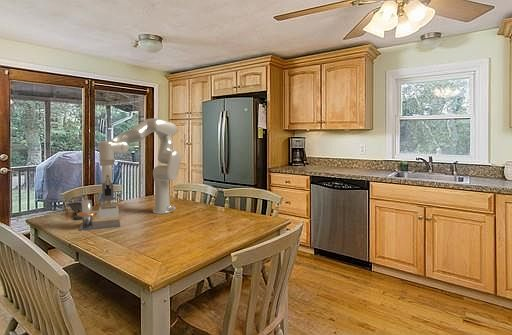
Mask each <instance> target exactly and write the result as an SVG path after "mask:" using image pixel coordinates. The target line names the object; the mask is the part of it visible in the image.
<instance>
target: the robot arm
mask: <svg viewBox="0 0 512 335" xmlns="http://www.w3.org/2000/svg"><path fill="white" fill-rule="evenodd" d="M151 133H156V135H157V136H158V138H159V140H160V141H159V142H160V143H159V144H160V145H159V149H158V154H157V155H158V156H157V160H158V162H159V163H161V164H164V165H161V164H160V165H157V166H155V167H154V168H153V169H152V176H153V180H154V181H153V184H154V209H153V210H152V213H153V214H156V215H157V214H159V215H160V214H162V215H163V214H169V213H172V212H173V211H174V210H176V206H172V204H170V183H169V181H174V180H176V179H177V177H178V174H179V169H180V163H181V156H180V155H181V154H180V152H178V151H177V150H174V149H173V148H174V141H173V136H175V135H176V134H177V133H178V126H177V125H176V124H175V123H174V122H172V121H171V122H170V121H168V120H165V119H161V118H147V119H144V120H143V121H142V122H140V123H139V124H137V125H136V126H134V127H132V128H131V129H129V130H127V131H124V132H123V133H120V134H118V135H116V136H115V137H113V138H111V139H110V140H101V141H100V142H99V143H98V146H99V149H98V150H99V155H98V156H99V167H101V184H102V183H103V184H104V183H105V196H111V185H110V184H111V183H112V181H113V166H115V154H118V155H119V154H120V155H121V154H123V155H124V154H126V153H128V151H129V150H130V146H129V144H133V143H138V142H141V141H142V140H144V139H145V138H146V137H147V136H149V135H151ZM109 182H111V183H109ZM109 186H110V187H109Z"/></svg>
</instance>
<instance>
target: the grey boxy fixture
mask: <svg viewBox="0 0 512 335" xmlns="http://www.w3.org/2000/svg"><path fill="white" fill-rule="evenodd" d="M81 203H82V212H79V213H77V216H78V217H82V219H83V220H82V222H81V223H80V226H79V231H80V232H81V231H82V230H83V231H91V230H92V229H93V230H99V229H101V230H103V229H108V228H109V229H110V228H120V227H121V223H120V219H112V220H111V219H110V218H119V217H120V213H119V212H120V211H119V209H120V208H119V205H111V206H99V207H98V210H93V203H92V199H83V200H82V201H81ZM93 216H99V217H98V218H99V221H93ZM100 219H101V220H100ZM102 219H107V220H102ZM108 219H109V220H108Z"/></svg>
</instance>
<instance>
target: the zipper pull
mask: <svg viewBox="0 0 512 335" xmlns="http://www.w3.org/2000/svg"><path fill="white" fill-rule="evenodd" d="M67 205H68V206H69V207H70V209H71V210H72V211H74V212H72V218H73V220H74V221H83V219H82V217H78V216H77V213H79V212H82V201H80V202H79V201H77V202H69V203H67Z"/></svg>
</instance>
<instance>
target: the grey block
mask: <svg viewBox="0 0 512 335" xmlns="http://www.w3.org/2000/svg"><path fill="white" fill-rule="evenodd" d="M109 183H111V182H109ZM110 185H111V196H105V183H104V184H103V183H102V182H101V187H102V189H101V193H102V195H101V196H102V202H108V201H109V202H111V201H114V200H115V199H114V198H115V197H114V182H112V183H111V184H110ZM109 187H110V186H109Z"/></svg>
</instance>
